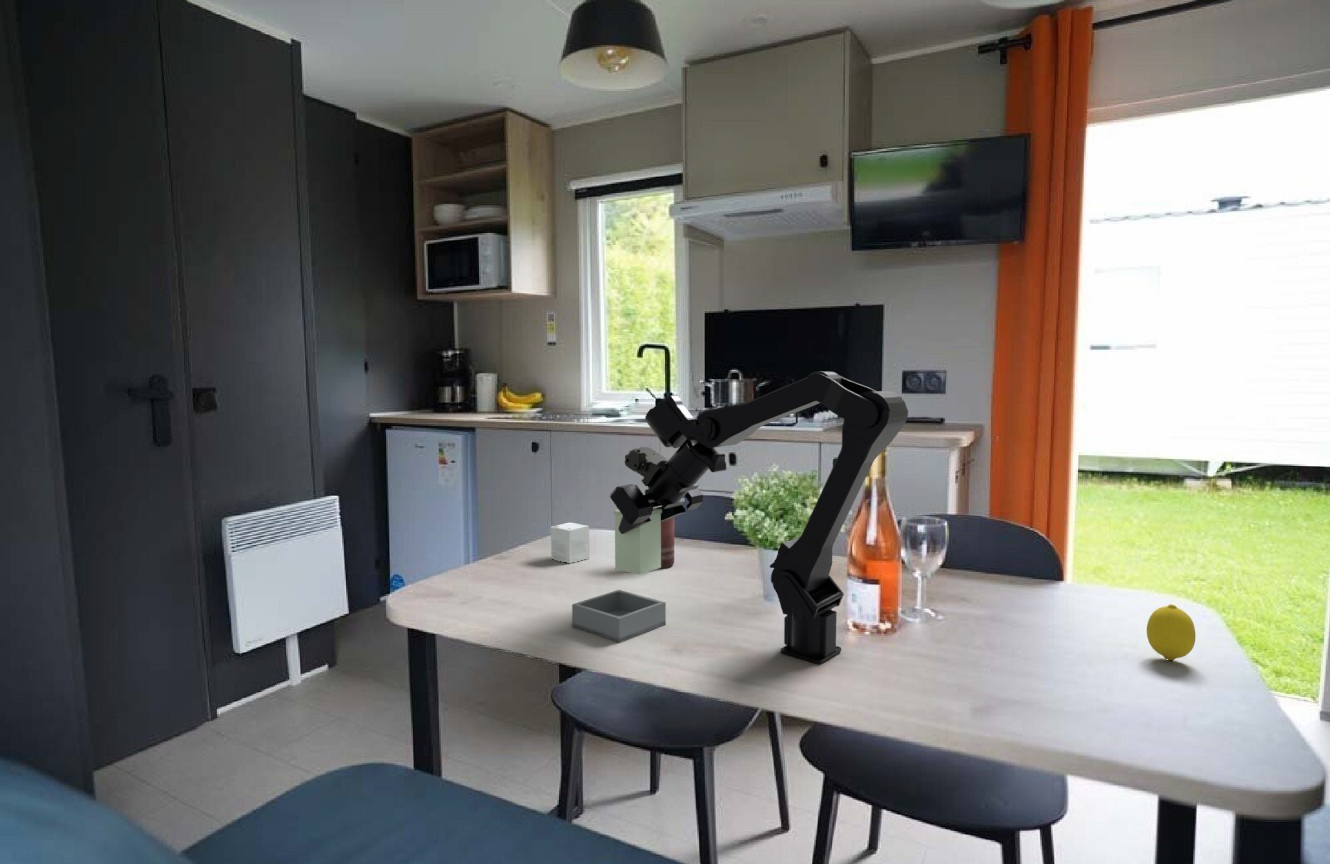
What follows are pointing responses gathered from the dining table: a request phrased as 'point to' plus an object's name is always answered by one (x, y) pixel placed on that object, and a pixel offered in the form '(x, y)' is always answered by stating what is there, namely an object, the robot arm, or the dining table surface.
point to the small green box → (639, 545)
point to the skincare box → (570, 542)
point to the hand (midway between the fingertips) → (631, 528)
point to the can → (667, 543)
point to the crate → (618, 615)
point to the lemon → (1171, 632)
